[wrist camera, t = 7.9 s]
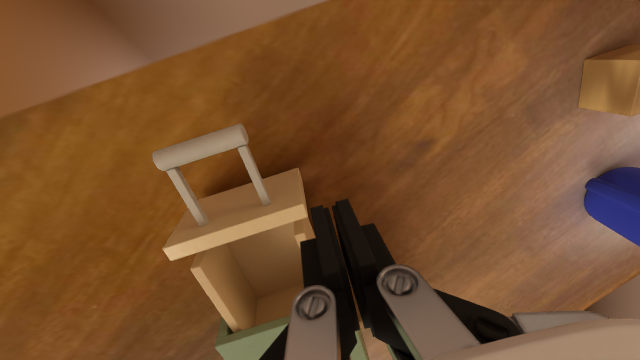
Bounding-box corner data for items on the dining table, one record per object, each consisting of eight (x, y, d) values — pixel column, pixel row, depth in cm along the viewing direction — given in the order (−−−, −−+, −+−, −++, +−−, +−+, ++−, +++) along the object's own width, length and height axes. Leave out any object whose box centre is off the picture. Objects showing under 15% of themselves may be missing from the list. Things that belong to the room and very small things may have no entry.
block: (584, 59, 25) (644, 59, 21) (631, 44, 25) (700, 41, 21) (577, 107, 27) (630, 116, 23) (621, 93, 27) (682, 99, 23)
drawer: (154, 140, 22) (106, 171, 16) (274, 101, 22) (271, 118, 16) (248, 298, 31) (240, 359, 25) (335, 270, 31) (348, 324, 25)
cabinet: (231, 272, 30) (214, 347, 22) (330, 240, 30) (347, 304, 22) (277, 348, 36) (275, 428, 29) (358, 322, 36) (379, 395, 29)
